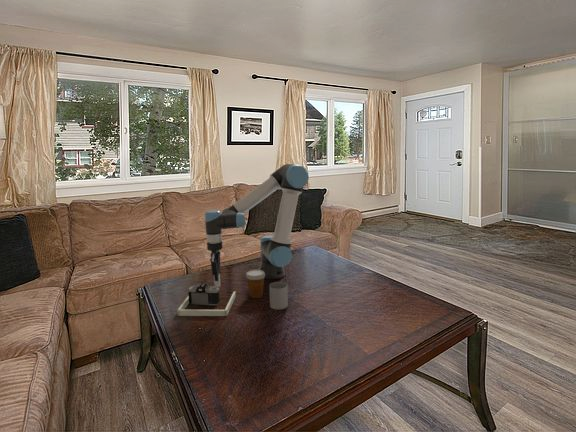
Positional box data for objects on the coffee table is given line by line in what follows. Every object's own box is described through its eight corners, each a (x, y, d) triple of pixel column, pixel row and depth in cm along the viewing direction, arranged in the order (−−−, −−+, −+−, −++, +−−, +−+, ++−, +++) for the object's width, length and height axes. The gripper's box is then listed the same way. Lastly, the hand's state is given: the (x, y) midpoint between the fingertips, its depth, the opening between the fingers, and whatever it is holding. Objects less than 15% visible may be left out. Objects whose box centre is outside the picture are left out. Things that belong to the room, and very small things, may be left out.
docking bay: (235, 296, 174) (235, 291, 173) (226, 316, 153) (226, 310, 153) (192, 296, 175) (191, 291, 174) (177, 315, 154) (176, 310, 154)
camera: (224, 298, 171) (223, 279, 169) (218, 306, 162) (217, 286, 160) (194, 297, 173) (193, 278, 172) (186, 305, 165) (185, 285, 163)
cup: (269, 302, 167) (269, 282, 165) (286, 301, 167) (286, 281, 165) (270, 310, 158) (269, 289, 156) (288, 309, 159) (288, 288, 157)
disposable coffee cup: (250, 301, 168) (250, 277, 166) (243, 294, 176) (242, 271, 174) (268, 297, 172) (268, 273, 170) (261, 290, 180) (260, 268, 178)
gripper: (210, 238, 181) (213, 281, 186) (203, 245, 168) (207, 291, 173) (224, 238, 181) (227, 281, 185) (219, 244, 168) (222, 291, 173)
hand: (217, 286), depth 179 cm, fingers closed
